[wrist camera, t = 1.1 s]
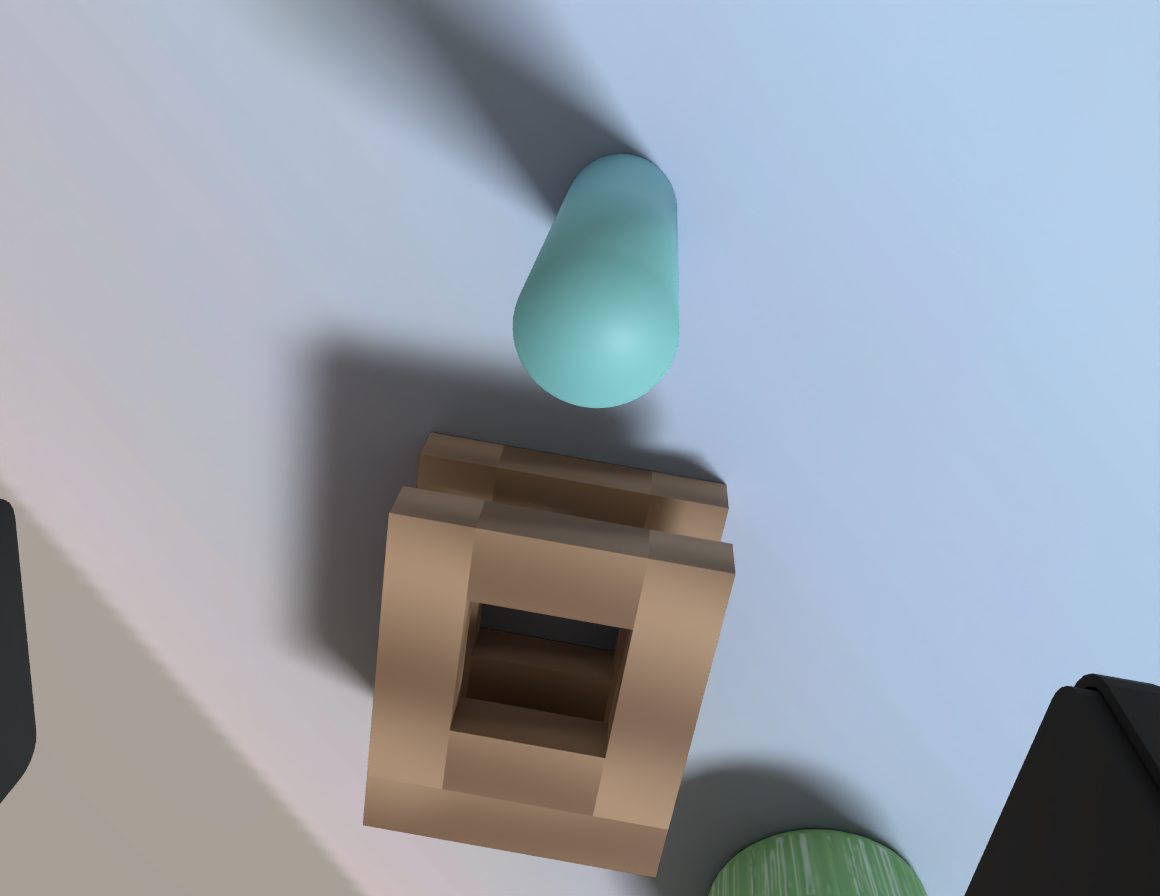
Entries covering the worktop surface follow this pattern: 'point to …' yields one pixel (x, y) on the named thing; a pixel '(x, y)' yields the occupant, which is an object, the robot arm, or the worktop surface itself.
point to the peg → (604, 288)
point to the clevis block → (543, 652)
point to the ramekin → (817, 868)
